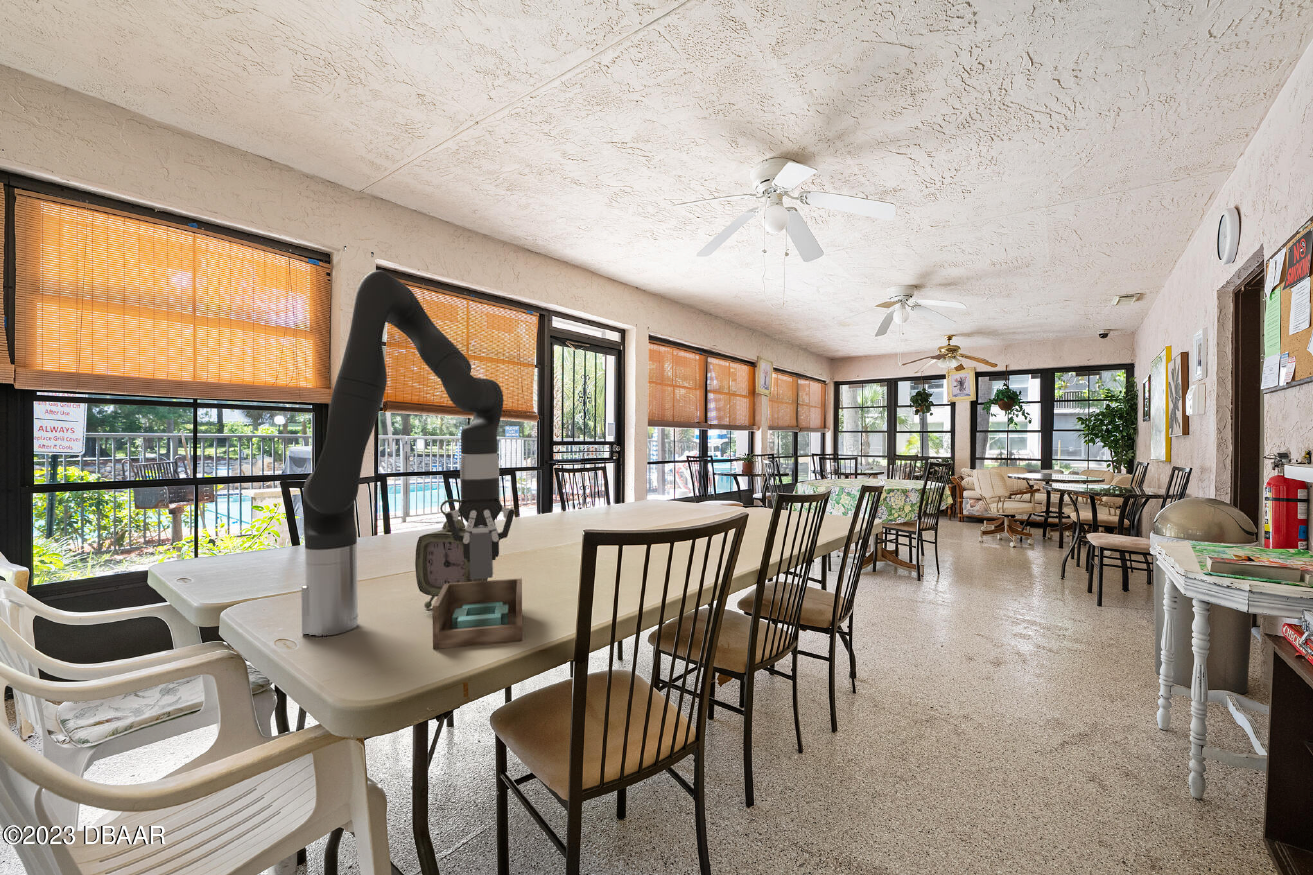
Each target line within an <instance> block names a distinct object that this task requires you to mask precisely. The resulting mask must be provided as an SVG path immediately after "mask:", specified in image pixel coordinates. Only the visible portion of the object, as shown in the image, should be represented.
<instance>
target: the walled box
mask: <svg viewBox="0 0 1313 875" xmlns="http://www.w3.org/2000/svg"><path fill="white" fill-rule="evenodd" d="M521 641H522V642H523V578H522V577H521V578H510V579H509V578H508V579H492V580H491V579H490V580H487V581H476V582H461V583H447V584H444V586H443V588H442V590H441V591H440V593H439V595H438V597H436V599H435V601H434V603H433V604H432V649H433V650H439V649H448V648H449V649H450V648H459V647H468V646H469V647H471V646H472V647H473V646H479V645H480V646H481V644H483V645H491V644H501V643H504V644H505V643H512V642H521Z"/></svg>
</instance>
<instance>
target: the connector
mask: <svg viewBox="0 0 1313 875" xmlns="http://www.w3.org/2000/svg"><path fill="white" fill-rule="evenodd" d="M469 540H470V579H481V578H488V579H491V578H493V576H494V560H492V532H490V531H489V528H488V526H477V527H473V529H472V533H470V534H469Z"/></svg>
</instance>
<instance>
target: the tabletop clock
mask: <svg viewBox="0 0 1313 875" xmlns="http://www.w3.org/2000/svg"><path fill="white" fill-rule="evenodd" d="M448 503H459V504H461V499H457V498H449V499H446V500H444V501H443V502H442V503H440V504H441V505H440V506H439V509H440V512H441V513H442V515H443V516H445V514H446V513H447V512H445V511H444V510H443V508H444V506H445V504H448ZM460 517H462V516H461V515H460V514H458V520H457V521H456V523H457V526H458V529H459V531H460V534H462V535H465V531H466V527H467V526H466V525H465V522H464V521H463V520H462V519H461V518H460ZM414 562H415V563H414V566H415V567H414V568H415V576H416V577H415V578H416V584H417V587H418V589H419V592H420V593H421V594H424V595H427V596H430V598H429V600H427V601H425V603H424V608H425V609H430V608H431V607H433V604H432V602H433V600H434V599H435V597H436V598H437V597H438V595H439V593H440V591H441V590H442V588H443V586H444V584H447V583H461V582H476V581H489V578H481V579H470V562H467V559H464V553H463V543H462V542H460V541H455V540H454V539H453V536H452V534H451V531H450V528H449V525H448V523H447V520H445V522H444V523H443V524H442V529H440V530H437V531H434V532H433V531H432V532H429V533H426V534H423V535H421V536H419V537H418V539H417V543H416V547H415V561H414Z"/></svg>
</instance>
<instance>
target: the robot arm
mask: <svg viewBox="0 0 1313 875" xmlns="http://www.w3.org/2000/svg"><path fill="white" fill-rule="evenodd" d="M386 323H388V324H389V325H391V326H393V327H394V328H396V329H397V330H399V331H400V332H401V333H403V334H404V335H405V336H406V337H407V338H408V339H409V340H410V341H411V342H412V344H413V345H414V347H415V349H416V351H417V354H419V357H420V359H421V360H422V361H423V362H424V364H425V365H426V366H427V368H429V369H430V371H431V372H432V373H433V374H434V375H435V376H436V377H437V378H438V379H439V380H440V382H441V384H442V386H443V389H444V390H445V393H446V394H447V396H448V398H449V401H450V402H451V403H452V404H453V405H454V406H455V407H456V408H458V409H459V410H460V411H463V412H464V413H465V412H466V413H473V417H472V418H473V419H472V421H471V423H470V424H467V425H465V426H464V427H463V428H461V432H460V463H459V464H460V465H459V474H460V475H459V476H460V478H459V479H460V481H459V482H460V500H461V503H459V507H458V508H457V509H454V510H449V511H447V512H445V513H446V514H445V515H444V517H445V519H446V520H445V521H447V523H448V525H449V528H450V531H451V534H452V536H453V539H454V540H455V541H460V542H462V543H463V553H464V559H467V562H470V540H469V534H470V533H472V529H473V527H477V526H488V528H489V531H490V532H492V560H493V561H496V560H497V558H498V557H499V556H500V541H501V540H502V539H506V538H508V535H509V533H510V529H511V527H512V524H513V523H512V522H513V519H514V516H515V511H516V510H515V509H514V508H513V507H510V508H509V507H505V506H503V505H502V502H501V501H500V500H501V499H500V498H501V497H500V495H501V494H500V465H499V458H498V436H497V434H498V430H499V426H500V423H501V417H502V413H503V408H504V393H503V389H502V388H501V386H500V384H499V383H498V382H496V381H495V380H493V379H490V378H482V377H475V376H473V375H472V374H471V373H472V365H471V361H470V360H469V359H468V358H467V357H466V356H465V354H463V352H462V351H461V350H460V349H459V348H458V347H457V346H456V345H455V344H454V342H452V341H451V340H450V339H449V338H448V336H446V334H444V333H443V332H442V330H440V329H439V327H437V325H435V323H434V322H433V320H432V319H431V318H430V317H429V315H428V313H427V312H426V311H425V309H424V307H423V305H422V304H421V302H420V301H419V300H418V298H417V297H416V295H415V293H414V292H413V291H412V290H411V289H410V288H409V287H408V286H407V285H406V284H404V283H403V282H401V281H400V280H399V279H397V278H396V277H395V276H393V275H391V274H390V273H388V272H386V271H384V270H374V271H371V272H369V273H368V274H366V275H365V276H364V278H362V280H361V282H360V283H359V286H358V289H357V290H356V295H355V300H354V305H353V312H352V318H351V325H350V329H349V334H348V338H347V342H346V345H345V350H344V353H343V358H342V362H341V364H340V368H339V370H338V373H337V377H336V381H335V383H334V387H333V391H332V394H331V398H330V403H329V408H328V418H327V426H326V437H325V442H324V445H323V448H322V450H321V453H320V456H319V459H318V461H317V463H316V466H315V469H314V471H313V472H312V473H310V475H308V477H307V478H306V480H305V481H304V484H303V489H302V490H303V491H302V506H303V507H302V508H303V509H302V511H303V537H304V562H305V563H304V569H305V570H304V574H305V577H304V579H305V580H304V583H305V584H304V585H303V586H302V587H301V589H300V591H301V592H300V594H301V595H300V596H301V635H302V634H309V635H308V636H311V635H316V636H315V637H325V636H326V635H327V636H333V635H334V636H335V635H339V634H343V633H346V632H349V631H351V630H353V629H355V628H357V626H358V625H359V624H358V622H359V618H358V617H359V613H358V612H359V611H358V541H357V540H358V538H357V537H358V534H357V527H356V519H355V501H356V500H357V497H358V493H359V488H360V480H361V474H362V468H363V462H364V457H365V453H366V449H367V446H368V443H369V440H370V437H371V435H372V432H373V430H374V428H375V424H376V421H377V419H378V415H379V412H380V409H381V407H382V403H383V400H384V396H385V391H386V388H387V383H388V377H387V376H388V375H387V368H386V362H385V355H384V350H383V349H384V348H383V338H384V337H383V336H384V330H385V327H386ZM501 513H502V514H503V515H502V516H503V518H504V519H505V521H504V525H503V529H502V530H501V531H500V532H498V531H499V530H498V529H497V525H496V522H495V520H497V518H498V517H499V515H500V514H501ZM458 514H460V515H461V517H462V518H463V519H464V521H465V522H466V523H467V525H466V526H465V527H466V531H465V535H462V534H460V531H459V529H458V526H457V523H456V521H457V520H458V519H459V517H458ZM322 635H323V636H322Z"/></svg>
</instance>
